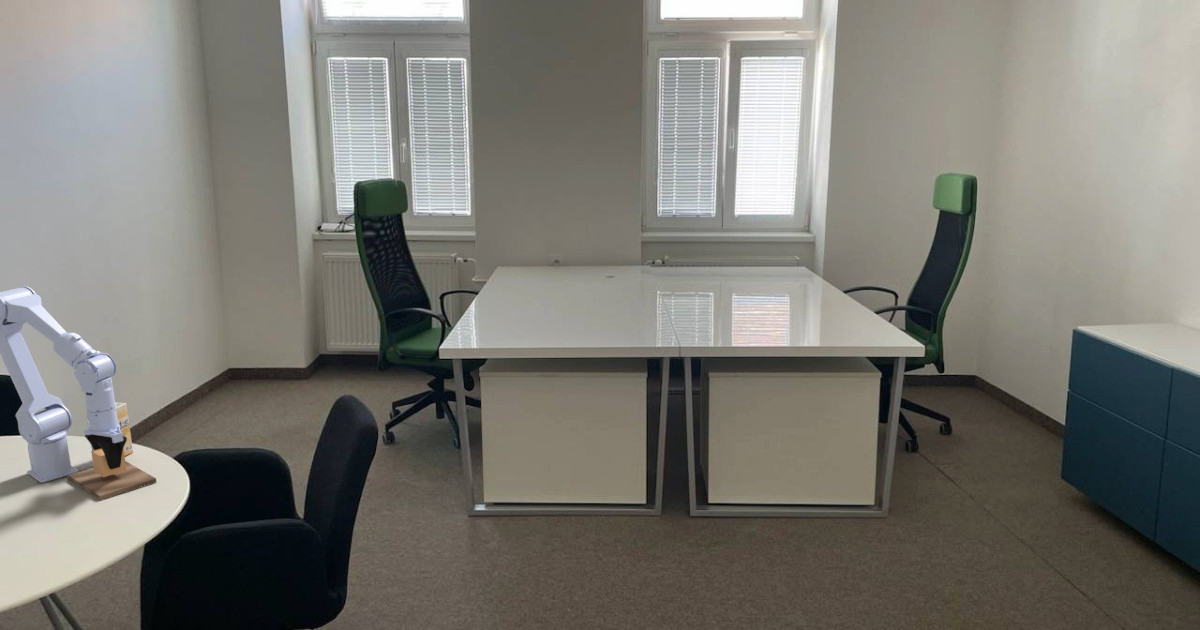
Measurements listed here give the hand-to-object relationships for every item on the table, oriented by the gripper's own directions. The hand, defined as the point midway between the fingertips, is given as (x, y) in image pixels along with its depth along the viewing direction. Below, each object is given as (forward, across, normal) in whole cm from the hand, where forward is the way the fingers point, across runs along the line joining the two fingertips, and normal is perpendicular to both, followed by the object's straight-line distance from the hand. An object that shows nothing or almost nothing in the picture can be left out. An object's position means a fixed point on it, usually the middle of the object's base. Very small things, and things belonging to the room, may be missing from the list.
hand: (109, 464), depth 205 cm
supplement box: (+4, -14, +6) cm, 16 cm away
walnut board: (+4, 0, 0) cm, 4 cm away
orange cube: (+2, 0, 0) cm, 2 cm away
